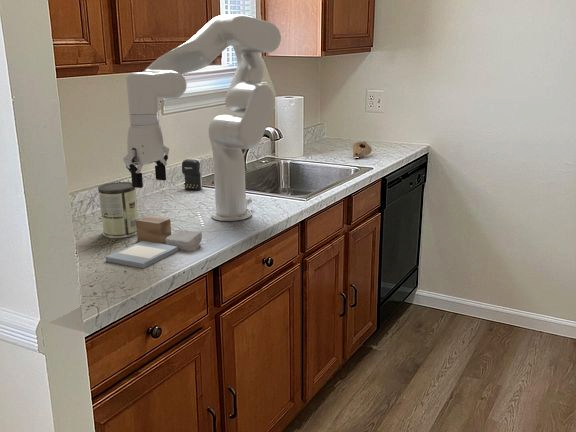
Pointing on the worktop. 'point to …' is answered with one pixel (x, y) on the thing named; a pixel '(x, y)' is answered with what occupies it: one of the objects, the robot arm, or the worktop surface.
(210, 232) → the worktop surface
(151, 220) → the walnut block
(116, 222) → the coffee can
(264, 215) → the worktop surface
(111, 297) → the worktop surface
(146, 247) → the board
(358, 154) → the pottery oil lamp
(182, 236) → the rough stone chunk
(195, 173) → the battery charger
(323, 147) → the worktop surface
